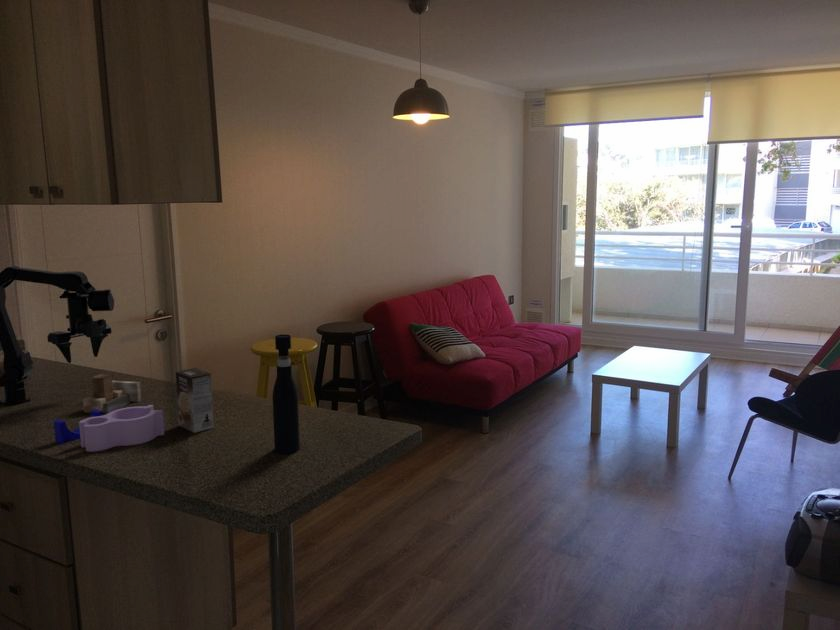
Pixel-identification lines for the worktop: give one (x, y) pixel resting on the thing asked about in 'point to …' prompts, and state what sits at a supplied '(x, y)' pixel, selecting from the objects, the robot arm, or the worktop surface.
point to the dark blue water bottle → (285, 401)
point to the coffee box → (194, 399)
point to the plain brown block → (102, 387)
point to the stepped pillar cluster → (121, 394)
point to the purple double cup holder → (121, 428)
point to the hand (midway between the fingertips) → (82, 359)
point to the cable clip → (65, 434)
